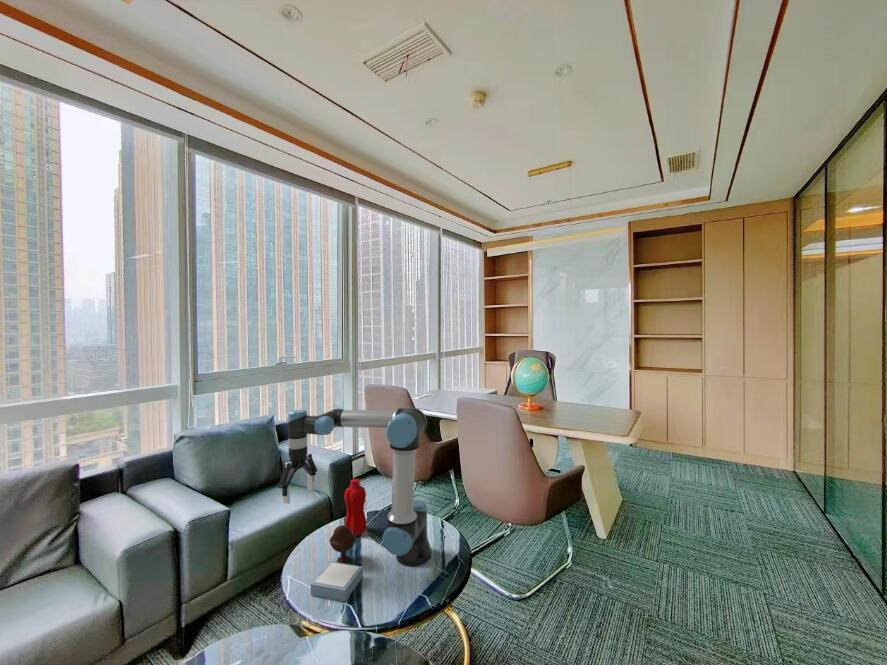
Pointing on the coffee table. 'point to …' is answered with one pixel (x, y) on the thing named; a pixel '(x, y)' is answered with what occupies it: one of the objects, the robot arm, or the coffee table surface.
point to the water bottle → (355, 507)
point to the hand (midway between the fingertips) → (298, 496)
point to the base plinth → (337, 581)
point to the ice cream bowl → (342, 542)
